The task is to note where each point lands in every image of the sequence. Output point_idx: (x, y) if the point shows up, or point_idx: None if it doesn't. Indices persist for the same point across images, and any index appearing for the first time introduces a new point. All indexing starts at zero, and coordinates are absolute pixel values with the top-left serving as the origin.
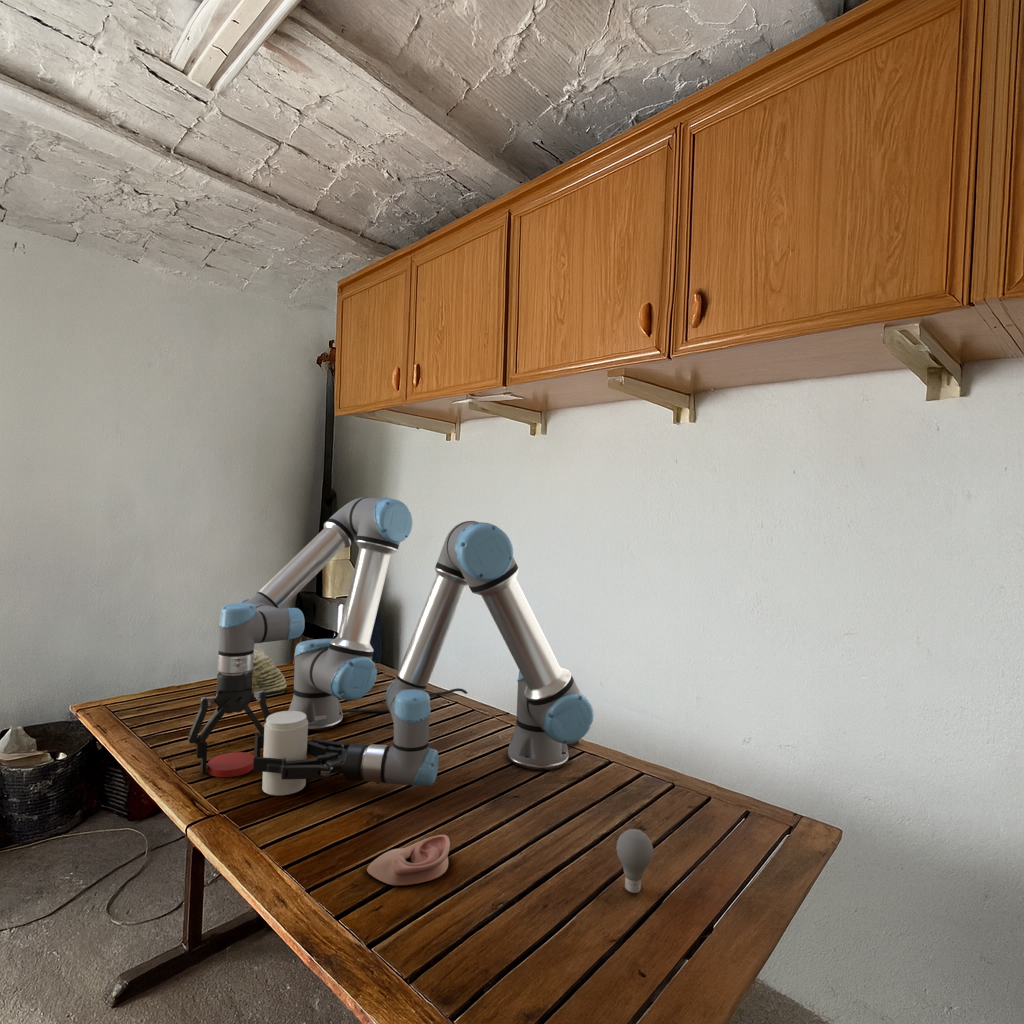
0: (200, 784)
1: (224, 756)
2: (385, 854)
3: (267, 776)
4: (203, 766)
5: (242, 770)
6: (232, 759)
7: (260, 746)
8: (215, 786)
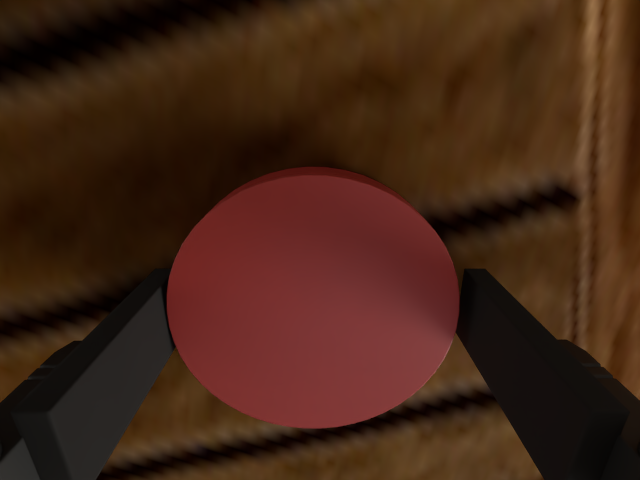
0: (528, 146)
1: (342, 393)
2: None
3: None
4: (502, 290)
5: (268, 177)
6: (307, 337)
7: (87, 338)
8: (461, 64)
